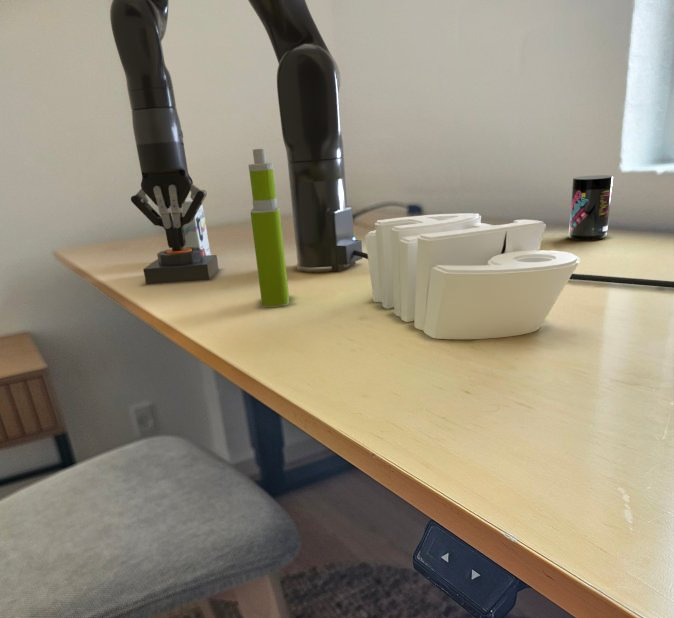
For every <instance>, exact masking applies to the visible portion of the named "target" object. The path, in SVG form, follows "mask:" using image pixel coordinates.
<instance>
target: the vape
mask: <svg viewBox="0 0 674 618" xmlns="http://www.w3.org/2000/svg"><path fill="white" fill-rule="evenodd" d="M252 156H253V163H250V164H248V171H249V179H250V180H249V181H250V188H251V196H252V207H253V208H252V209H250V220H251V228H252V236H253V244H254V252H255V260H256V267H257V275H258V276H257V277H258V283H259V291H260V297H261V298H260V300H261V306H262V307H263V308H278V307H280V308H281V307H284V306H285V307H286V306H287V305H289V302H290V293H289V285H288V276H287V266H286V256H285V255H286V254H285V247H284V237H283V230H282V220H281V219H282V218H281V210H280V209H281V208H280V206H278V200H277V194H276V184H275V176H274V175H275V174H274V163H273V162H267V157H266V148H253V149H252Z"/></svg>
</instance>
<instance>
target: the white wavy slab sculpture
mask: <svg viewBox="0 0 674 618" xmlns="http://www.w3.org/2000/svg"><path fill="white" fill-rule="evenodd" d="M546 227H547V224H546V223H544V221H542V220H537V219H514V220H513V222H510V223H503V224H496V225H494V224H489V223H484V222H482V215H480V213H467V212H466V213H465V212H464V213H463V212H462V213H438V214H425V215H424V214H423V215H413V216H402V217H394V218H385V219H379V220H376V222H374V230H371V231H369V232H367V234H365V235H364V238H365V244H366V245H365V246H366V254H368V259H367V260H368V261H367V262H368V268H369V276H370V284H371V291H372V298H373V299H372V300H373V303H381V307H382V308H384V309H388V310H389V309H393V314H394V315H395V316H396V317H399V318H400V319H401V320H402V321H403V322H405V323H410V322H414V325H413V326H414V328H415V329H417V330H420V331H423V333H424V334H425V335H426V336H428V337H430V338H432V339H437V340H485V339H498V338H508V337H516V336H522V335H523V336H524V335H527V334H531V333H534V332H536V331H538V330H539V329H541V327H542V326H543V324H544V322H545V320H546V318H547V317H548V315H549V313H550V312H551V310H552V308H553V307H554V305H555V304H556V302H557V300H558V298H559V297H560V295H561V293H562V292H563V291H564V288H565V287H566V285H567V283H568V281H569V280H570V279H569V278H570V277H571V275H572V274H574V272H575V270H576V269H577V267H578V265H579V263H580V261H581V259H580V258H579V257H578V256H577V255H576V254H575V253H571V252H567V251H562V250H561V251H560V250H546V249H545V250H544V249H543V250H541V249H540V246H541V243H542V240H543V237H544V233H545V231H546Z"/></svg>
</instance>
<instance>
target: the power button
mask: <svg viewBox="0 0 674 618" xmlns="http://www.w3.org/2000/svg"><path fill="white" fill-rule="evenodd" d="M167 250H168V251H166V254H178V253H185V252H190V251H192V249H191V248H183V250H181V251H173V250H169V249H167Z"/></svg>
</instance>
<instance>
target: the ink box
mask: <svg viewBox="0 0 674 618" xmlns="http://www.w3.org/2000/svg"><path fill="white" fill-rule="evenodd" d="M192 201H193V200H192V199H191V196H190V197H188V196H187V198H186V200H185V202H184V203H183V217H184V216H185V214H186V212H187V210H188V209H189V207H190V205H191V203H192ZM204 212H205V211H204V206H203V203H202V204H201V206H200V208H199V210H198V212H197V213H196V215H195V217H194V219H193V221H191V222H190V223H188V224H185V225H184V234H185V240H186V245H185V246H184V247H183V248H186V247H197V248H200V249H201V252H202V256H208V255H212V254H211V247H210V243H209V242H210V241H209V237H208V230H207V225H206V218H205V213H204ZM172 217H173V215H172Z"/></svg>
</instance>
